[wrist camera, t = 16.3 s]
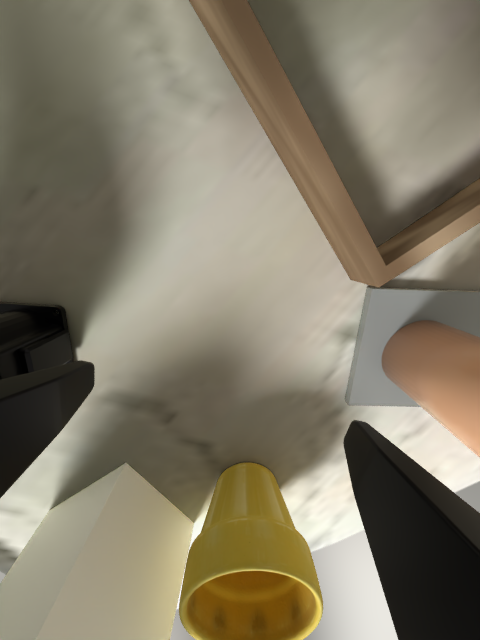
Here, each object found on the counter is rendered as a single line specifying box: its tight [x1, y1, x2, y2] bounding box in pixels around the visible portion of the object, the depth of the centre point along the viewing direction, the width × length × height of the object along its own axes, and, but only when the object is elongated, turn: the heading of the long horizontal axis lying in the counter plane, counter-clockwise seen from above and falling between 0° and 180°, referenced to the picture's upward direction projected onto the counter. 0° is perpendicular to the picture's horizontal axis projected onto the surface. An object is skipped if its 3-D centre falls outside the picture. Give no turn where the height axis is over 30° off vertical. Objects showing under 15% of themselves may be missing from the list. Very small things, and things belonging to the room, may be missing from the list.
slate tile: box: [345, 287, 480, 407], centre depth 21 cm, size 11×11×1 cm
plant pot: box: [179, 462, 323, 640], centre depth 21 cm, size 10×10×10 cm
